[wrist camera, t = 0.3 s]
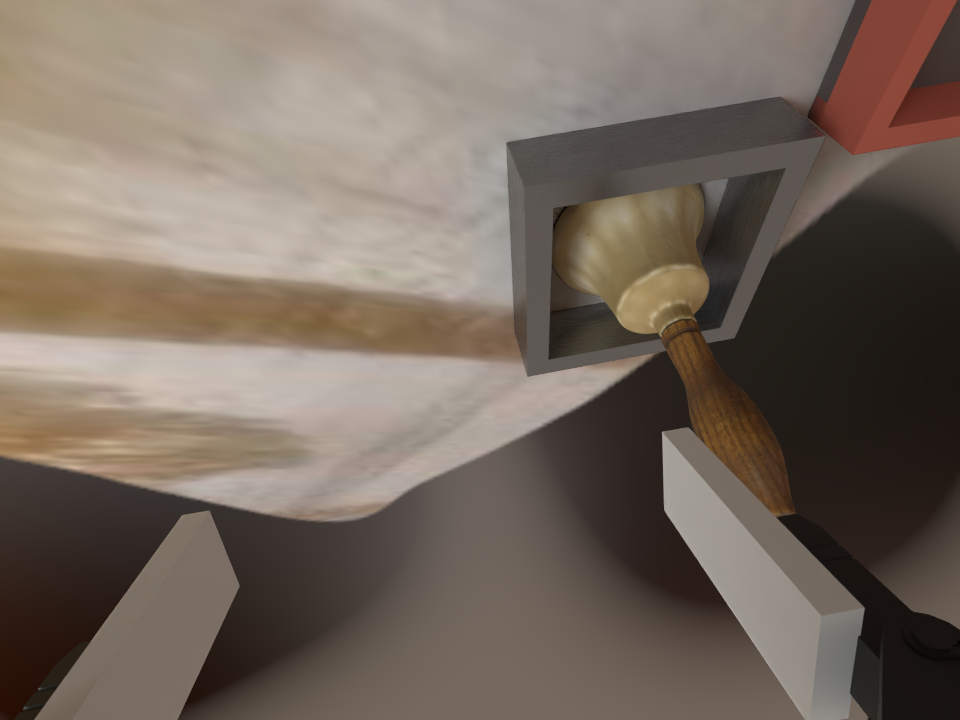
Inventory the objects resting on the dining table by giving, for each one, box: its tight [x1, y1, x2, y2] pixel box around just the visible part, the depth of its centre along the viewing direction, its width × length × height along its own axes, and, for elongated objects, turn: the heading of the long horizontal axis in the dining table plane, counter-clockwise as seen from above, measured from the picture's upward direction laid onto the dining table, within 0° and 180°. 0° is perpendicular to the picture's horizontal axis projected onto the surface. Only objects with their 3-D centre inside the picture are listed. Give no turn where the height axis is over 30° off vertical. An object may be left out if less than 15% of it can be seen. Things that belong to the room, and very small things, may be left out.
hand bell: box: [552, 183, 796, 517], centre depth 23 cm, size 8×8×16 cm
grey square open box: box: [507, 97, 826, 377], centre depth 27 cm, size 12×12×4 cm
